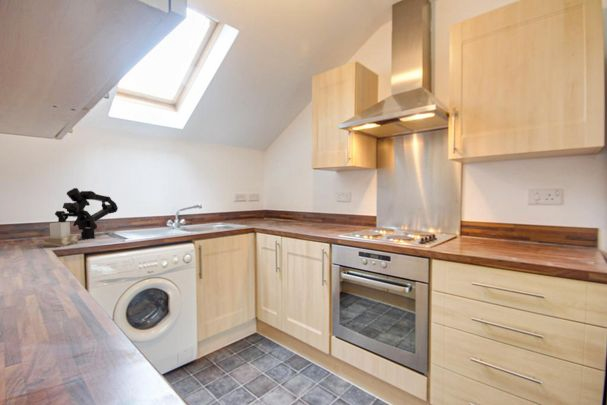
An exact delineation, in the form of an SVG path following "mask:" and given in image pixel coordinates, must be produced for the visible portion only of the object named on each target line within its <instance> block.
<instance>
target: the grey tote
mask: <svg viewBox="0 0 607 405" xmlns="http://www.w3.org/2000/svg"><path fill="white" fill-rule="evenodd" d="M70 236H71V223H70V221H65V222H57V221H56V222H51V223H49V238H50V239H62V238H67V237H70Z"/></svg>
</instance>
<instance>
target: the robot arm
mask: <svg viewBox="0 0 607 405" xmlns="http://www.w3.org/2000/svg"><path fill="white" fill-rule="evenodd" d="M66 195H67V197H68V198H69V199H70V200H71V201H72V202H64V203H63V206H62V208H63V209H65V210H66V211H67V212H66V211H64V210H56V212H55V213H54V215H55V216H56V217H57V218H58V222H67V220H68V218H69V217H72V218H76V219H75V221H74V222H73V224H72V226H73V227H78V230H79V231H80V238H81V239H82V240H91V239H96V236H95V230H96V229H98V224H96V222H98V221H99V220H100V219H102V218H103V217H105V216H107V215H108V214H114V213H116V212H117V211H118V208H119V207H118V205H117V203H116V201H114V200H112V198H111V196H109V195H108V196H107V195H101V194H96V192H94V191H93V190H81V191H80V190H79V188H77V187H73V188H72V189H70V190H68V191H67V192H66ZM88 200H89V201H90V200H93V201H97V202H101V207H102V209H100V210H98V211H97V212H95V213H93V214H90V213H89V211H88V210H85V208H86V206H90V202H89V201H88ZM106 203H108V204H106Z"/></svg>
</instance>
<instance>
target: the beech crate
mask: <svg viewBox="0 0 607 405" xmlns="http://www.w3.org/2000/svg"><path fill="white" fill-rule="evenodd" d="M78 241H79V240H78V235H70V237H67V238H62V239H50V237H47V238H42V245H43V247H44V248H48V247H49V248H50V246H63V247H67V246H71V245H75V244H78ZM66 245H67V246H66Z"/></svg>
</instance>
